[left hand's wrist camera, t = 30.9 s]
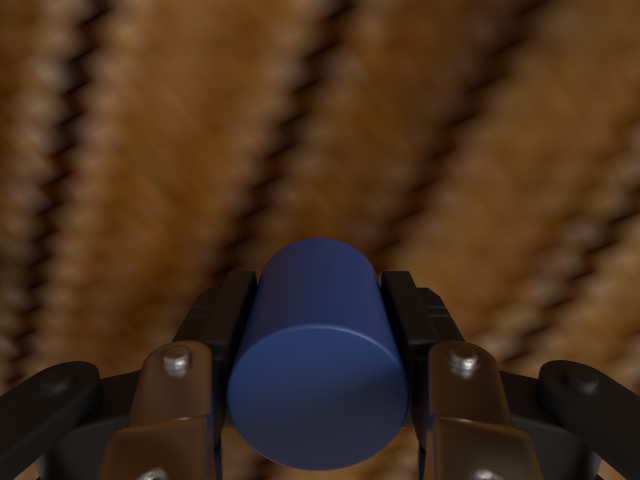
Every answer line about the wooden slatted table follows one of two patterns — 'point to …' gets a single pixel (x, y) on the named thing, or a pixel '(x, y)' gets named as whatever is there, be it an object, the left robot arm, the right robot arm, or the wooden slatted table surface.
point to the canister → (318, 361)
